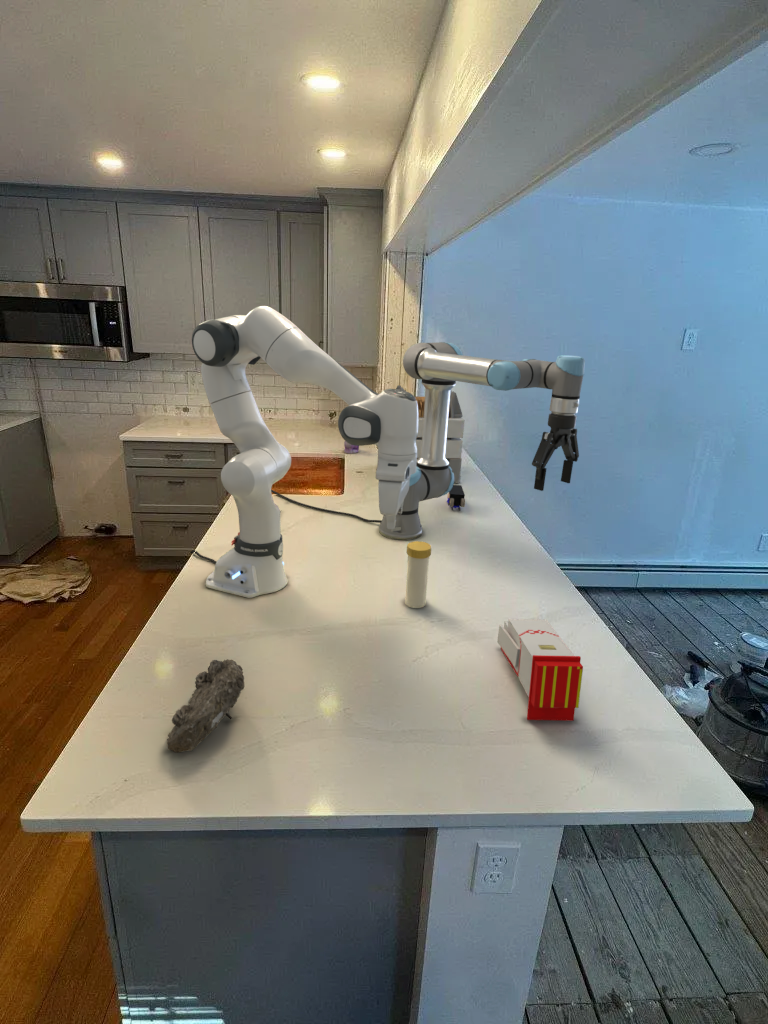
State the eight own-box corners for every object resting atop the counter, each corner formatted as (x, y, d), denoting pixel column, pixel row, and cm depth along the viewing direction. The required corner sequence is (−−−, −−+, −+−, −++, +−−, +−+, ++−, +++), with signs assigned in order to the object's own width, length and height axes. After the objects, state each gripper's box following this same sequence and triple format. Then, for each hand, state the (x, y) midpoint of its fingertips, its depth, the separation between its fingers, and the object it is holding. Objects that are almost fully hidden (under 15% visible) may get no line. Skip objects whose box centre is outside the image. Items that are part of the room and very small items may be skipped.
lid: (419, 547, 153) (419, 539, 152) (435, 555, 148) (436, 547, 147) (401, 552, 149) (402, 544, 148) (418, 560, 144) (418, 552, 144)
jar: (415, 596, 157) (419, 541, 152) (429, 604, 153) (434, 548, 148) (400, 601, 154) (404, 546, 148) (414, 610, 150) (418, 553, 144)
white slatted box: (382, 463, 289) (386, 382, 275) (445, 464, 293) (451, 384, 279) (390, 482, 257) (394, 392, 243) (460, 483, 261) (468, 394, 247)
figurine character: (465, 515, 224) (460, 499, 237) (467, 498, 221) (462, 483, 234) (448, 515, 224) (444, 499, 237) (450, 498, 220) (445, 482, 234)
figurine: (347, 454, 303) (347, 426, 298) (339, 450, 312) (340, 422, 306) (363, 453, 307) (363, 425, 302) (355, 448, 316) (355, 422, 311)
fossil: (192, 660, 117) (244, 628, 112) (224, 691, 120) (276, 661, 115) (142, 746, 98) (202, 712, 93) (182, 779, 101) (242, 748, 96)
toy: (543, 604, 136) (592, 662, 106) (538, 656, 138) (584, 727, 109) (493, 603, 135) (528, 661, 106) (489, 655, 138) (522, 726, 109)
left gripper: (391, 451, 138) (389, 505, 142) (374, 474, 119) (372, 535, 123) (417, 453, 137) (414, 508, 141) (403, 476, 118) (401, 538, 122)
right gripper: (548, 419, 148) (537, 496, 155) (598, 411, 163) (586, 482, 171) (525, 414, 153) (515, 489, 160) (575, 407, 169) (564, 476, 176)
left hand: (394, 521), depth 132 cm, fingers open, 8 cm apart
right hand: (552, 485), depth 166 cm, fingers open, 13 cm apart
